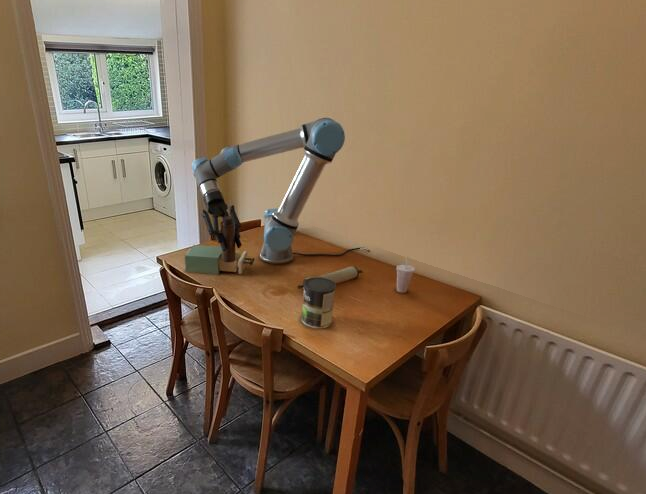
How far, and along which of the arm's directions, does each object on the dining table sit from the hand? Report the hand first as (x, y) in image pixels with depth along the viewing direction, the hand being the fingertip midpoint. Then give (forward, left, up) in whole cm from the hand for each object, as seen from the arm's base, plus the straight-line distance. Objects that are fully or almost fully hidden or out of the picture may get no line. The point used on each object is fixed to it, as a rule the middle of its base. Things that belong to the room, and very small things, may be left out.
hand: (232, 248), depth 153 cm
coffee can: (-33, +16, -18) cm, 41 cm away
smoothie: (-64, -13, -18) cm, 68 cm away
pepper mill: (+2, -3, -6) cm, 7 cm away
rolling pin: (-37, -13, -18) cm, 43 cm away
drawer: (+4, -19, -17) cm, 26 cm away
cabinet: (+17, -19, -18) cm, 31 cm away
